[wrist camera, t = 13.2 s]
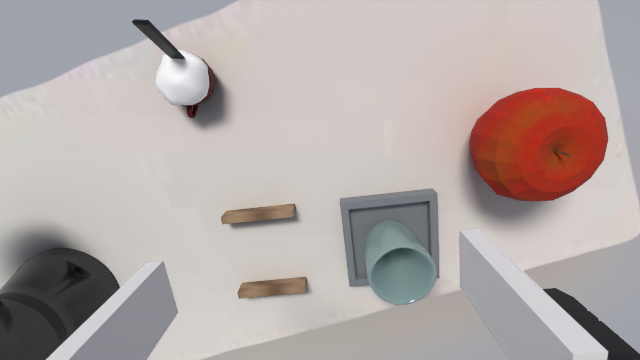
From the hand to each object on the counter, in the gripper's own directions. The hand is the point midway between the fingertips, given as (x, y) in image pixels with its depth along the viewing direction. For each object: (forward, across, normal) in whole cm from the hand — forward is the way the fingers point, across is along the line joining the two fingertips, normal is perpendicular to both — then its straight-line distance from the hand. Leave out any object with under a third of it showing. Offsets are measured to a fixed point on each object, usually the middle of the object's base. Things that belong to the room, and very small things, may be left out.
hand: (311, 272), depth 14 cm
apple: (+31, +23, -1) cm, 39 cm away
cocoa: (+31, -15, +11) cm, 36 cm away
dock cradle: (+31, +8, -14) cm, 35 cm away
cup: (+30, +8, -14) cm, 34 cm away
